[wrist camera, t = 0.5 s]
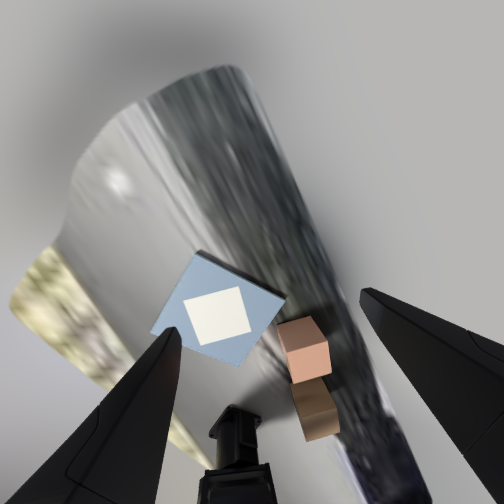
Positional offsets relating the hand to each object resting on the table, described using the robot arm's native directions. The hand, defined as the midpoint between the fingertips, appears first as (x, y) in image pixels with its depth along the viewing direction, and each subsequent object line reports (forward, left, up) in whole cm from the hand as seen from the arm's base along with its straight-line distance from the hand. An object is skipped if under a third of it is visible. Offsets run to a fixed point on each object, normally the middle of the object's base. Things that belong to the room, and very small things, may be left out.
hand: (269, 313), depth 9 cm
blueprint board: (-10, -2, -15) cm, 18 cm away
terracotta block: (-8, -14, -15) cm, 22 cm away
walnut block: (-16, -22, -15) cm, 31 cm away
